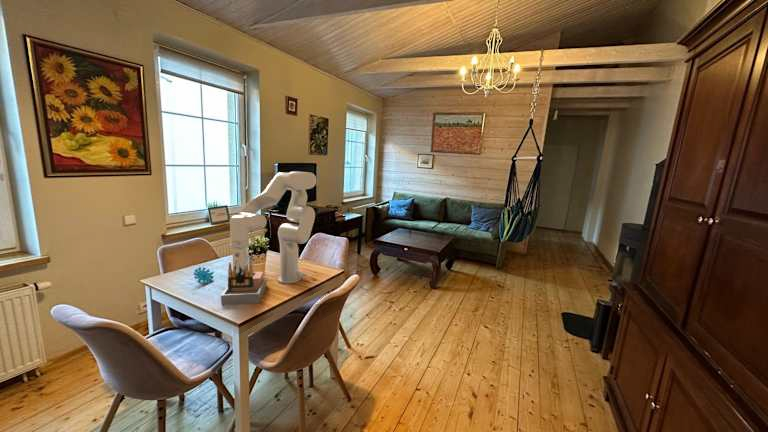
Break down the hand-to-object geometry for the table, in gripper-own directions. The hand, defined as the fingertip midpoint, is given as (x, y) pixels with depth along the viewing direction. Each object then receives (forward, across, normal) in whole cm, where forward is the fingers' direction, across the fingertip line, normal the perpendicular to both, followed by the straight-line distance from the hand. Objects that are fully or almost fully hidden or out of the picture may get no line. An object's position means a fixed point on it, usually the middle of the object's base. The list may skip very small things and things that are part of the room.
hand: (241, 281), depth 140 cm
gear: (+10, +25, +24) cm, 36 cm away
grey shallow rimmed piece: (+9, +7, 0) cm, 12 cm away
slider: (+8, +12, 0) cm, 15 cm away
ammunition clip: (+3, 0, 0) cm, 3 cm away
